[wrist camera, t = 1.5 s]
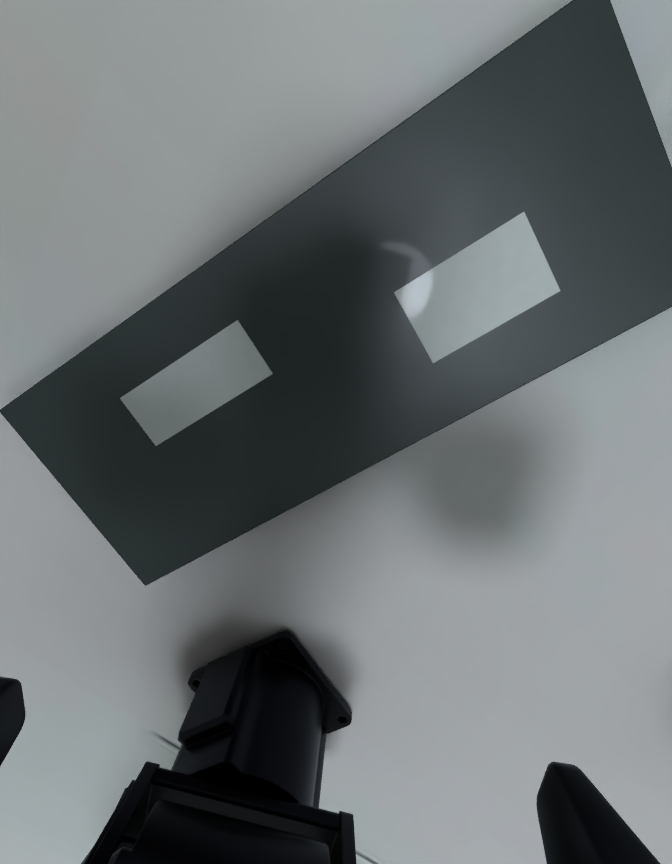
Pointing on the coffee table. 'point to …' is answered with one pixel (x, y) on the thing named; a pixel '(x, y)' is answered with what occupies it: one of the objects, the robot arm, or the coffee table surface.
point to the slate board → (375, 303)
